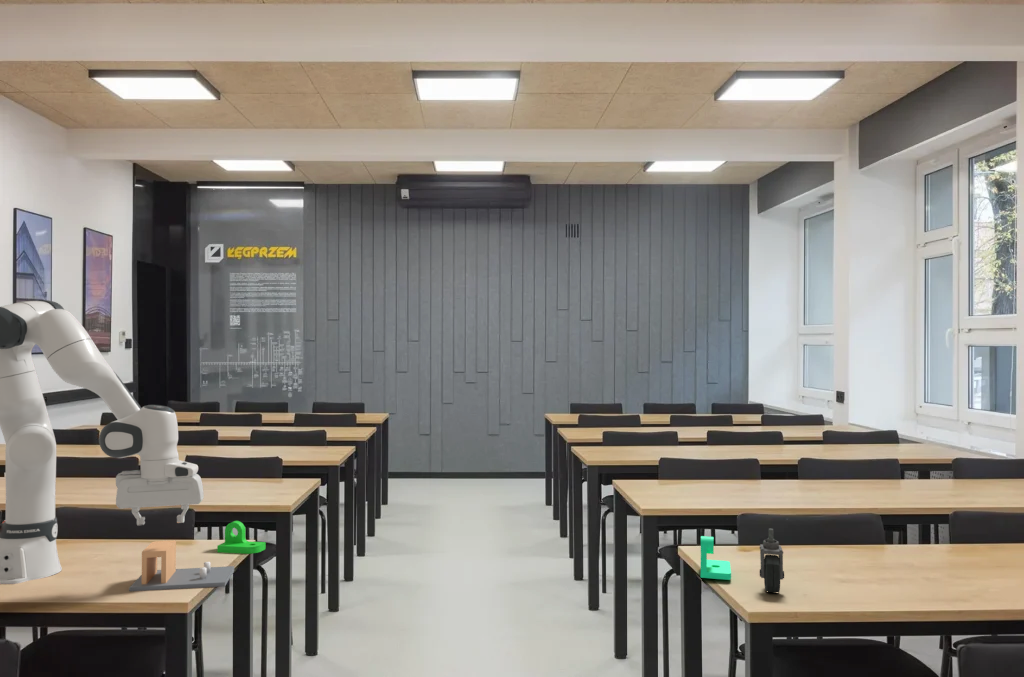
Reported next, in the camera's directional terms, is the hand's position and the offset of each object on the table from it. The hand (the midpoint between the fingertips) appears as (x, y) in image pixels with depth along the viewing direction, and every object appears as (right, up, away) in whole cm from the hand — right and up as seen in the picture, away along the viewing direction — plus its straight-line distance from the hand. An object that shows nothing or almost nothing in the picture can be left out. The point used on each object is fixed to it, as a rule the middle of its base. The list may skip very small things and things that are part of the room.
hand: (160, 523), depth 190 cm
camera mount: (+143, -16, +9) cm, 144 cm away
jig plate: (+5, -15, +1) cm, 16 cm away
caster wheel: (+153, -16, -5) cm, 154 cm away
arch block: (0, -14, 0) cm, 14 cm away
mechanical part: (+9, -16, +31) cm, 37 cm away
